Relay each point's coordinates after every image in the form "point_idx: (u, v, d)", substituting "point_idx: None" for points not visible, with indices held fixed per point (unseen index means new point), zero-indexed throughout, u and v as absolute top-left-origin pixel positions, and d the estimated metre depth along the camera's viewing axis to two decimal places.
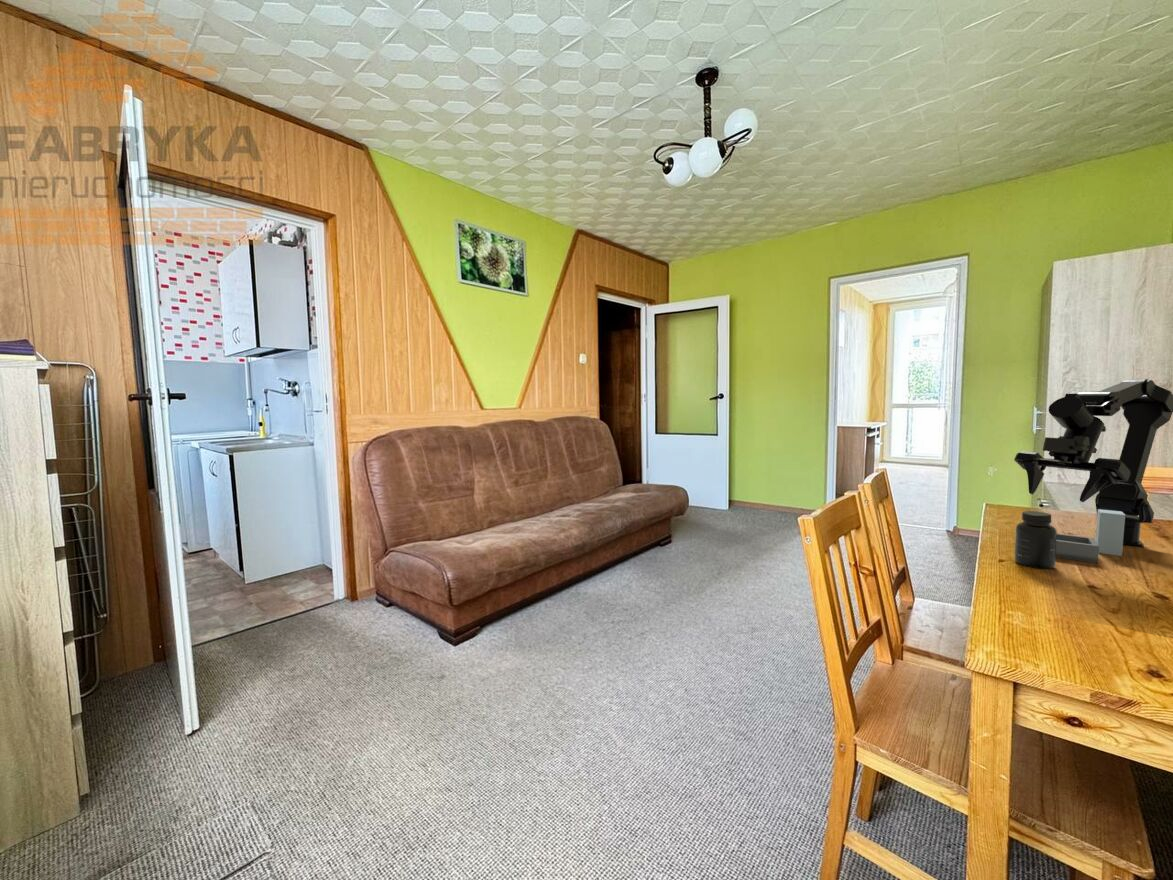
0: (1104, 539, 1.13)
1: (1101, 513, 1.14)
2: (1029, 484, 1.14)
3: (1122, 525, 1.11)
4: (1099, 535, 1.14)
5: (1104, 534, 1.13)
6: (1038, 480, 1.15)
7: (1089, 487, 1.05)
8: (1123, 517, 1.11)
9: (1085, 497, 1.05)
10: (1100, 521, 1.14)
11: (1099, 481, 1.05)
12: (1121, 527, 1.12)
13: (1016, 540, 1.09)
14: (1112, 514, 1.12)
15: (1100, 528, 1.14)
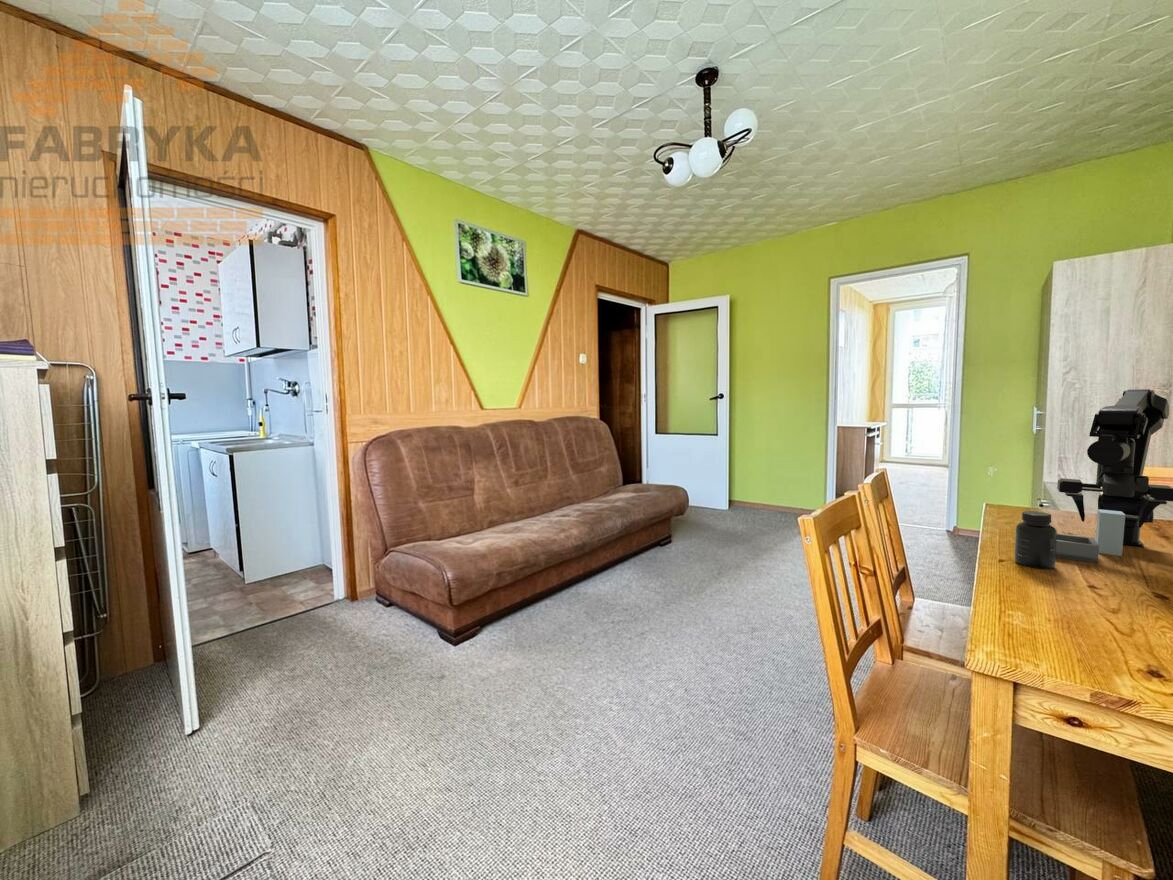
0: (1104, 539, 1.13)
1: (1101, 513, 1.14)
2: (1080, 513, 1.17)
3: (1122, 525, 1.11)
4: (1099, 535, 1.14)
5: (1104, 534, 1.13)
6: None
7: (1147, 515, 1.09)
8: (1123, 517, 1.11)
9: None
10: (1100, 521, 1.14)
11: None
12: (1121, 527, 1.12)
13: (1016, 540, 1.09)
14: (1112, 514, 1.12)
15: (1100, 528, 1.14)
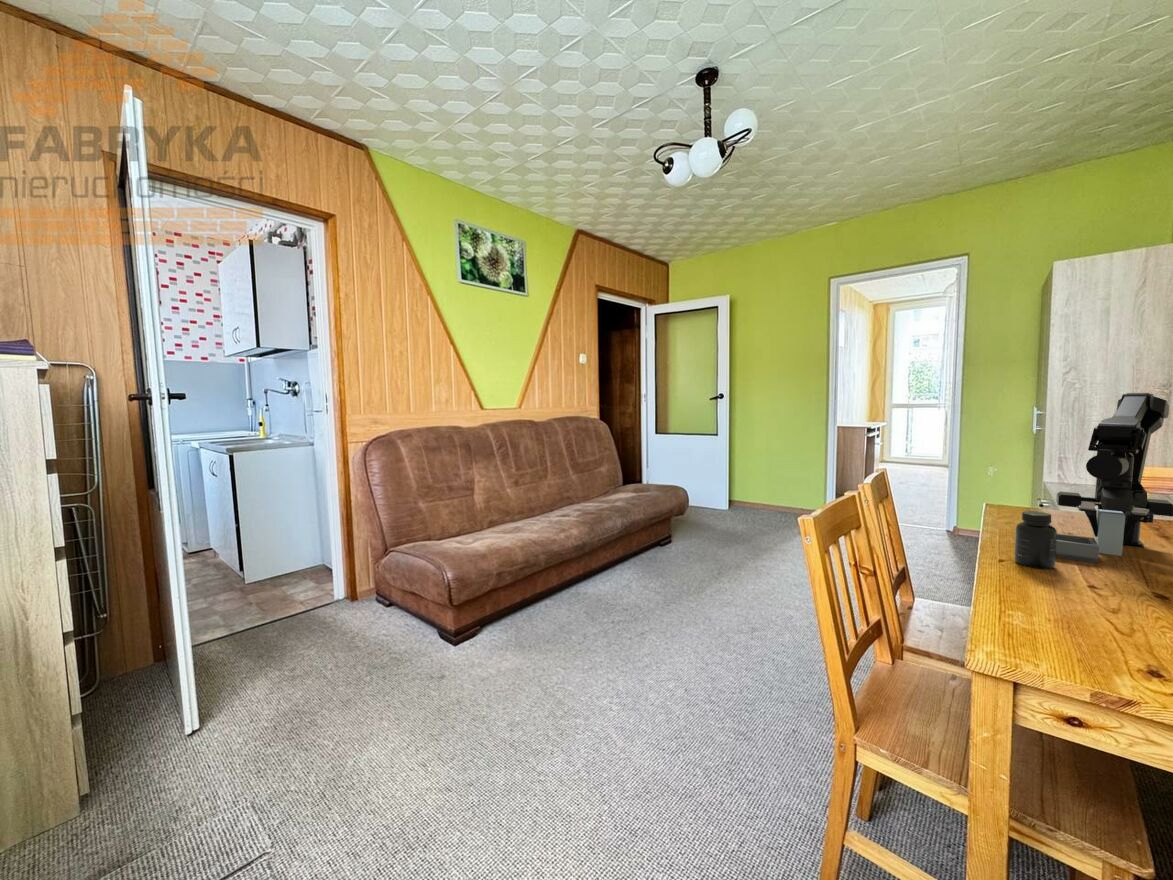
0: (1104, 539, 1.13)
1: (1101, 513, 1.14)
2: (1094, 529, 1.15)
3: (1122, 525, 1.11)
4: (1099, 535, 1.14)
5: (1104, 534, 1.13)
6: None
7: (1129, 528, 1.11)
8: (1123, 517, 1.11)
9: None
10: (1100, 521, 1.14)
11: None
12: (1121, 527, 1.12)
13: (1016, 540, 1.09)
14: (1112, 514, 1.12)
15: (1100, 528, 1.14)
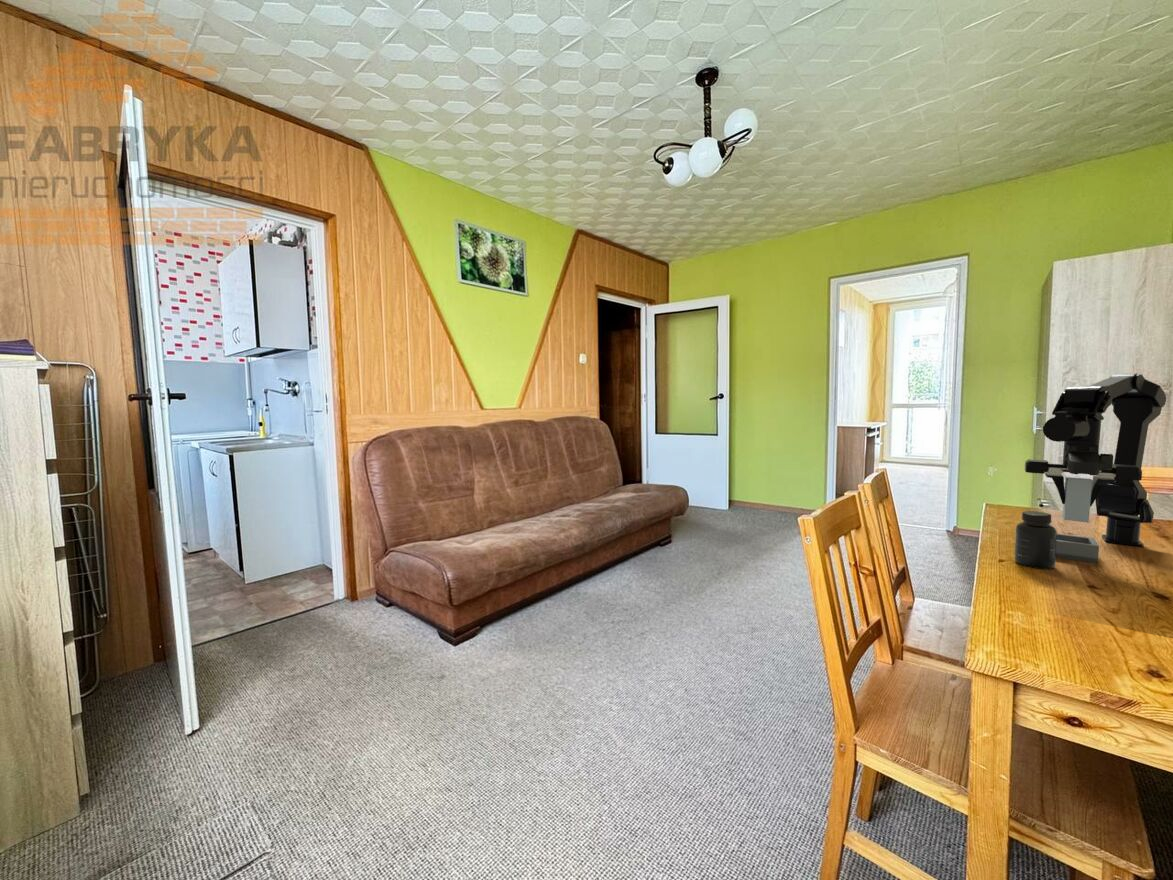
0: (1072, 505, 1.11)
1: (1068, 479, 1.11)
2: (1061, 496, 1.13)
3: (1089, 491, 1.09)
4: (1066, 502, 1.12)
5: (1071, 501, 1.11)
6: None
7: (1096, 494, 1.09)
8: (1090, 482, 1.09)
9: None
10: (1067, 487, 1.11)
11: None
12: (1088, 493, 1.09)
13: (1016, 540, 1.09)
14: (1079, 480, 1.10)
15: (1067, 494, 1.11)
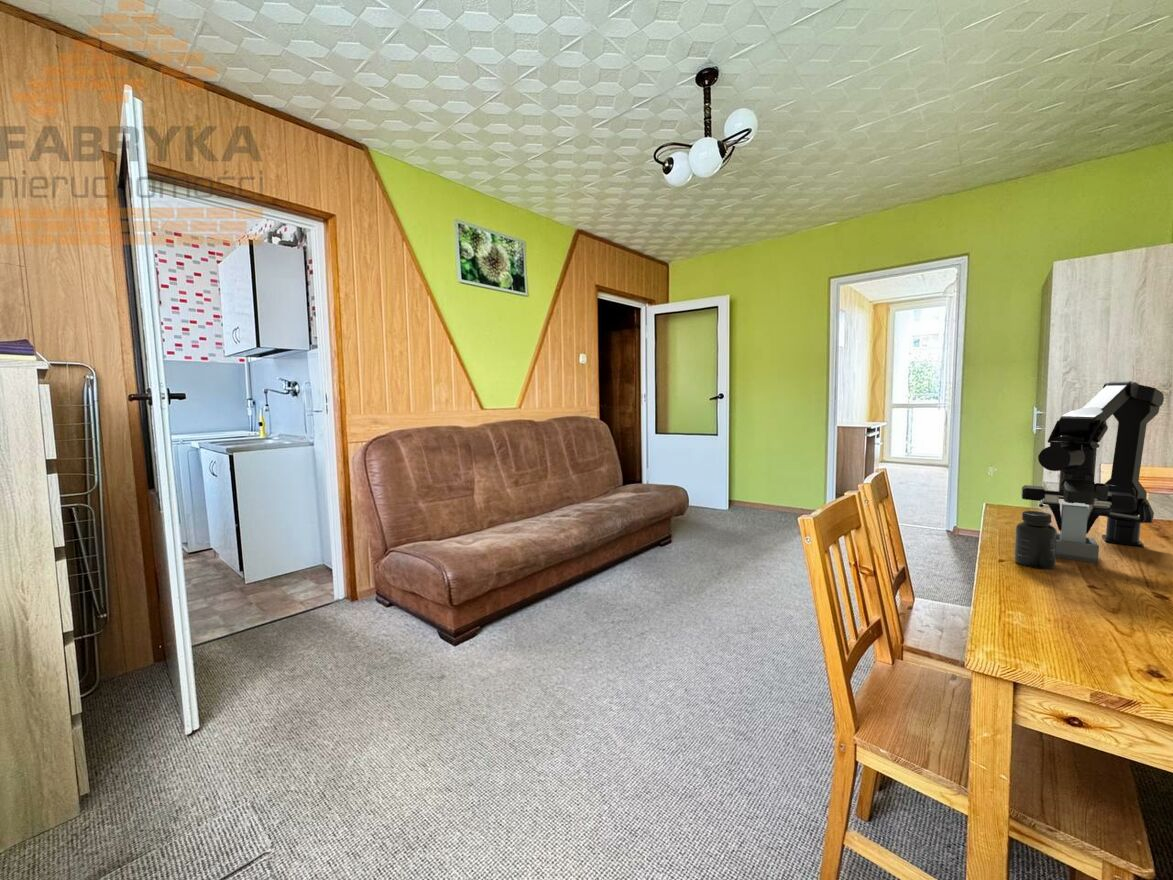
0: (1068, 532, 1.12)
1: (1064, 506, 1.12)
2: (1057, 522, 1.14)
3: (1085, 518, 1.10)
4: (1062, 529, 1.12)
5: (1067, 528, 1.12)
6: None
7: (1092, 522, 1.10)
8: (1086, 510, 1.10)
9: None
10: (1063, 515, 1.12)
11: None
12: (1084, 520, 1.10)
13: (1016, 540, 1.09)
14: (1075, 507, 1.11)
15: (1063, 522, 1.12)
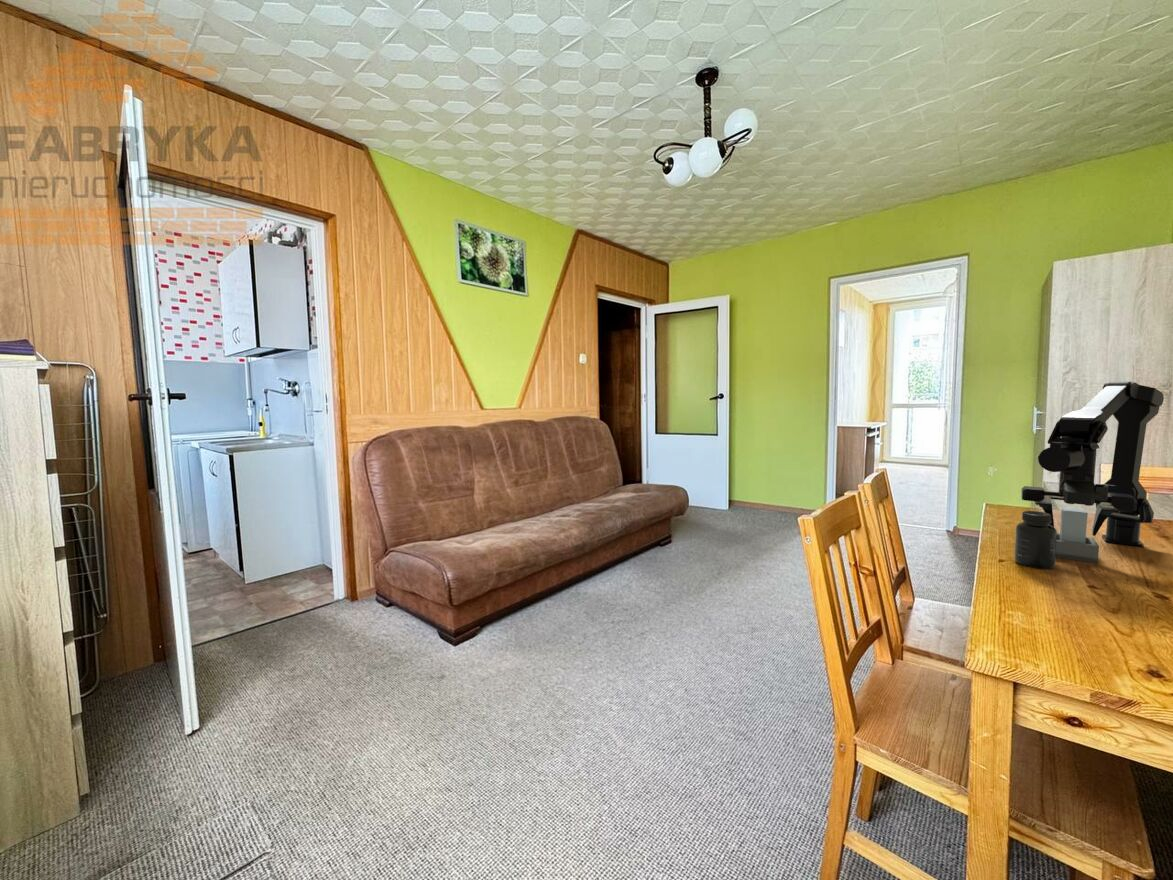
0: (1067, 537, 1.12)
1: (1064, 511, 1.12)
2: (1050, 523, 1.15)
3: (1084, 524, 1.10)
4: (1062, 534, 1.13)
5: (1067, 533, 1.12)
6: None
7: (1100, 524, 1.09)
8: (1085, 515, 1.10)
9: None
10: (1063, 519, 1.12)
11: None
12: (1083, 526, 1.10)
13: (1016, 540, 1.09)
14: (1075, 512, 1.11)
15: (1063, 527, 1.12)
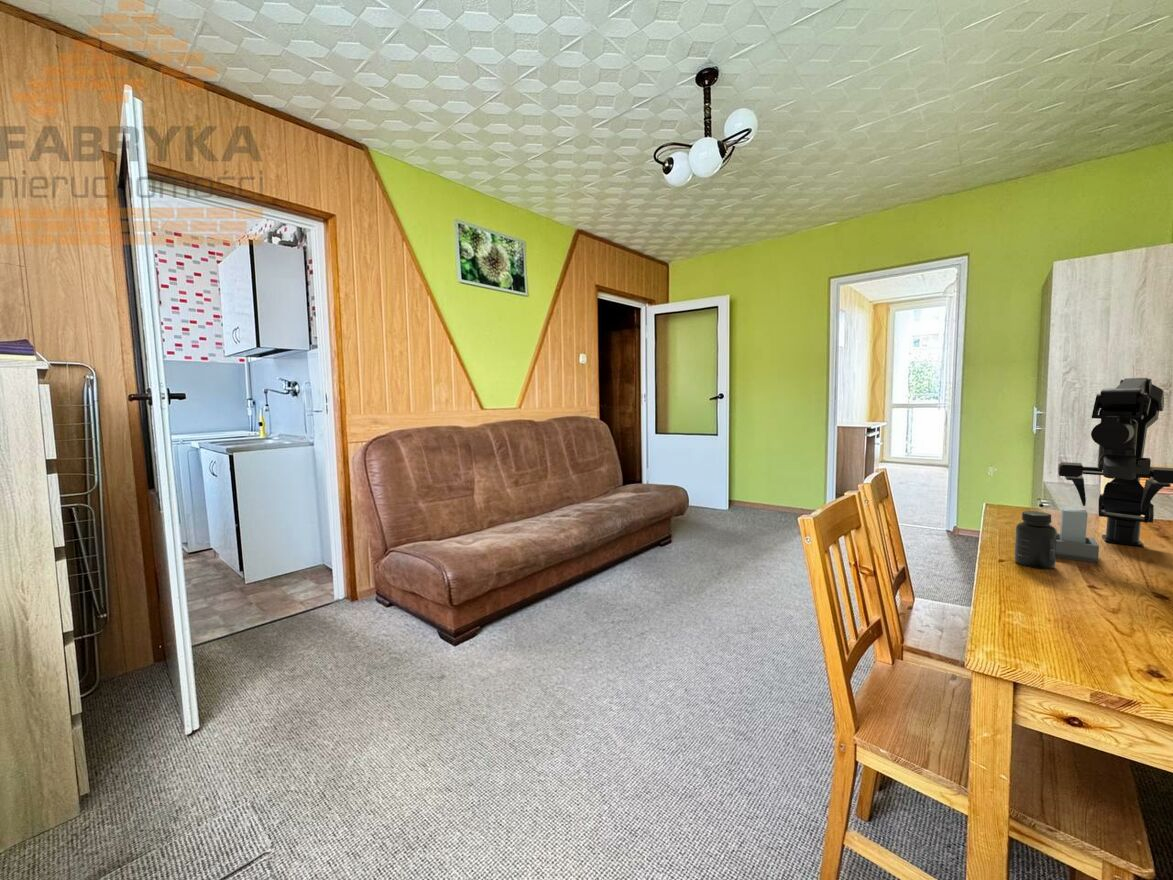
0: (1067, 537, 1.12)
1: (1064, 511, 1.12)
2: (1081, 498, 1.14)
3: (1084, 524, 1.10)
4: (1062, 534, 1.13)
5: (1067, 533, 1.12)
6: None
7: (1150, 499, 1.06)
8: (1085, 515, 1.10)
9: None
10: (1063, 519, 1.12)
11: None
12: (1083, 526, 1.10)
13: (1016, 540, 1.09)
14: (1075, 512, 1.11)
15: (1063, 527, 1.12)
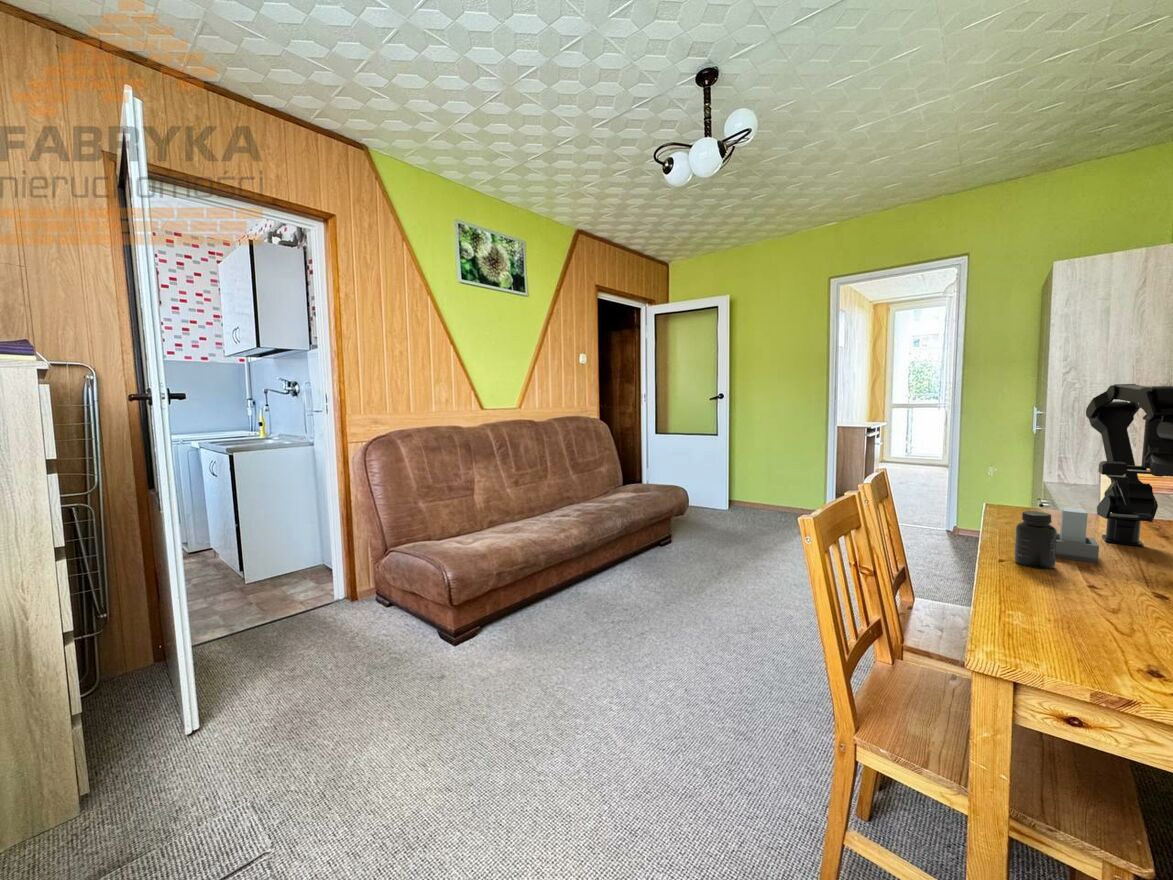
0: (1067, 537, 1.12)
1: (1064, 511, 1.12)
2: (1125, 497, 1.11)
3: (1084, 524, 1.10)
4: (1062, 534, 1.13)
5: (1067, 533, 1.12)
6: None
7: None
8: (1085, 515, 1.10)
9: None
10: (1063, 519, 1.12)
11: None
12: (1083, 526, 1.10)
13: (1016, 540, 1.09)
14: (1075, 512, 1.11)
15: (1063, 527, 1.12)
